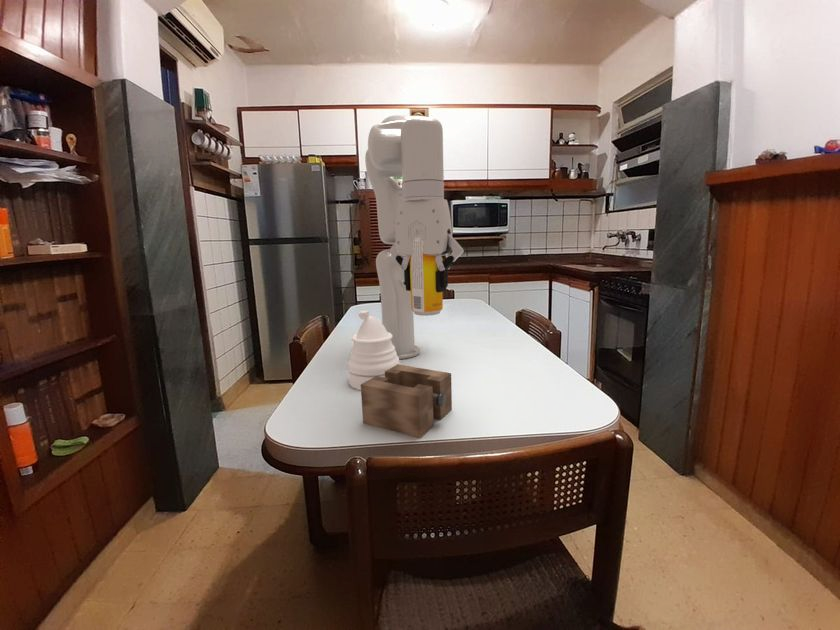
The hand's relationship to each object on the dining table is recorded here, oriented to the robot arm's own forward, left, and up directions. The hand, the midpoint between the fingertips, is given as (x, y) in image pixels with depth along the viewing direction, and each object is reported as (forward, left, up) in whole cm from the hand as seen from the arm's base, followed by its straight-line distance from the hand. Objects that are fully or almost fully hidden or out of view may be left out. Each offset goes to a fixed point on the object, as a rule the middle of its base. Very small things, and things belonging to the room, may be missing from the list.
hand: (426, 289), depth 77 cm
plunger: (+2, -4, -22) cm, 22 cm away
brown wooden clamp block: (-3, -4, -25) cm, 26 cm away
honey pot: (-21, +9, -26) cm, 34 cm away
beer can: (0, 0, -5) cm, 5 cm away
